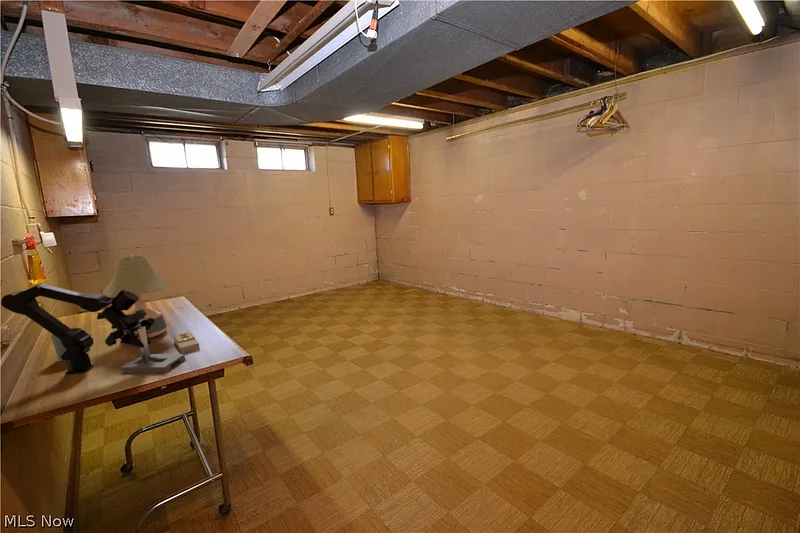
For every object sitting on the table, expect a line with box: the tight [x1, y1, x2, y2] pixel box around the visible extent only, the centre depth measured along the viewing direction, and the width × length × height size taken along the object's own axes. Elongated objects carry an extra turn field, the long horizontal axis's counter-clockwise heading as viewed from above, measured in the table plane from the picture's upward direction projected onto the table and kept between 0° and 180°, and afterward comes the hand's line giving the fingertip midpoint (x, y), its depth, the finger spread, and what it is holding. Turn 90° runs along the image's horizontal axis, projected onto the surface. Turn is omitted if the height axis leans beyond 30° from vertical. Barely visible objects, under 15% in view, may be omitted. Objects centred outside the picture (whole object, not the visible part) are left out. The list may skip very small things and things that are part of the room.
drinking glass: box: [50, 327, 84, 362], centre depth 154 cm, size 10×10×12 cm
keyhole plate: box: [120, 353, 186, 373], centre depth 144 cm, size 18×12×2 cm, turn 86°
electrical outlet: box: [173, 331, 201, 354], centre depth 164 cm, size 7×4×18 cm
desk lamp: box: [101, 254, 171, 340], centre depth 175 cm, size 26×28×42 cm
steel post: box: [137, 327, 154, 364], centre depth 143 cm, size 5×5×16 cm
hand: (146, 345), depth 143 cm, fingers closed on steel post, 3 cm apart
